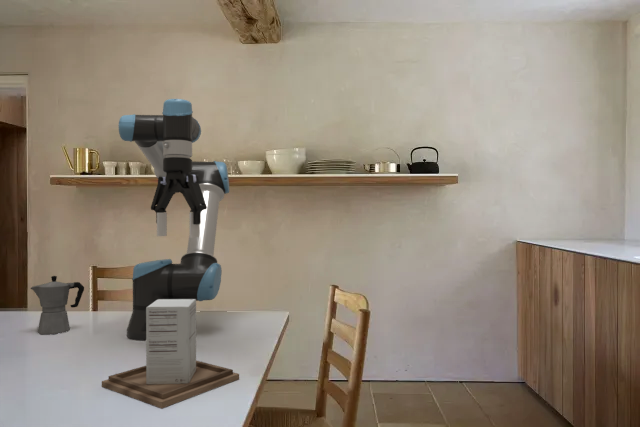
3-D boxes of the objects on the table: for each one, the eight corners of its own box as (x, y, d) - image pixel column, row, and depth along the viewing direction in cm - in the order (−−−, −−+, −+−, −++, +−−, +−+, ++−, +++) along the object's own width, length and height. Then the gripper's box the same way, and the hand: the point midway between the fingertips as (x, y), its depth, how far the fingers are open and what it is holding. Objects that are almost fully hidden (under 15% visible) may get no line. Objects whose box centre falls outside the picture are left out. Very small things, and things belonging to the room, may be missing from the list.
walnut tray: (101, 386, 108) (101, 376, 108) (179, 363, 125) (179, 354, 125) (161, 408, 95) (161, 397, 95) (239, 379, 112) (239, 369, 112)
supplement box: (156, 371, 114) (156, 298, 115) (196, 370, 115) (196, 298, 115) (145, 385, 105) (145, 306, 105) (189, 384, 106) (189, 305, 106)
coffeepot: (28, 336, 152) (28, 278, 152) (32, 330, 161) (32, 275, 161) (83, 332, 158) (83, 276, 158) (84, 326, 167) (84, 273, 167)
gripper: (137, 159, 137) (137, 236, 136) (197, 152, 122) (197, 238, 122) (160, 162, 143) (160, 235, 143) (220, 155, 128) (220, 237, 128)
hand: (177, 236), depth 132 cm, fingers open, 13 cm apart
